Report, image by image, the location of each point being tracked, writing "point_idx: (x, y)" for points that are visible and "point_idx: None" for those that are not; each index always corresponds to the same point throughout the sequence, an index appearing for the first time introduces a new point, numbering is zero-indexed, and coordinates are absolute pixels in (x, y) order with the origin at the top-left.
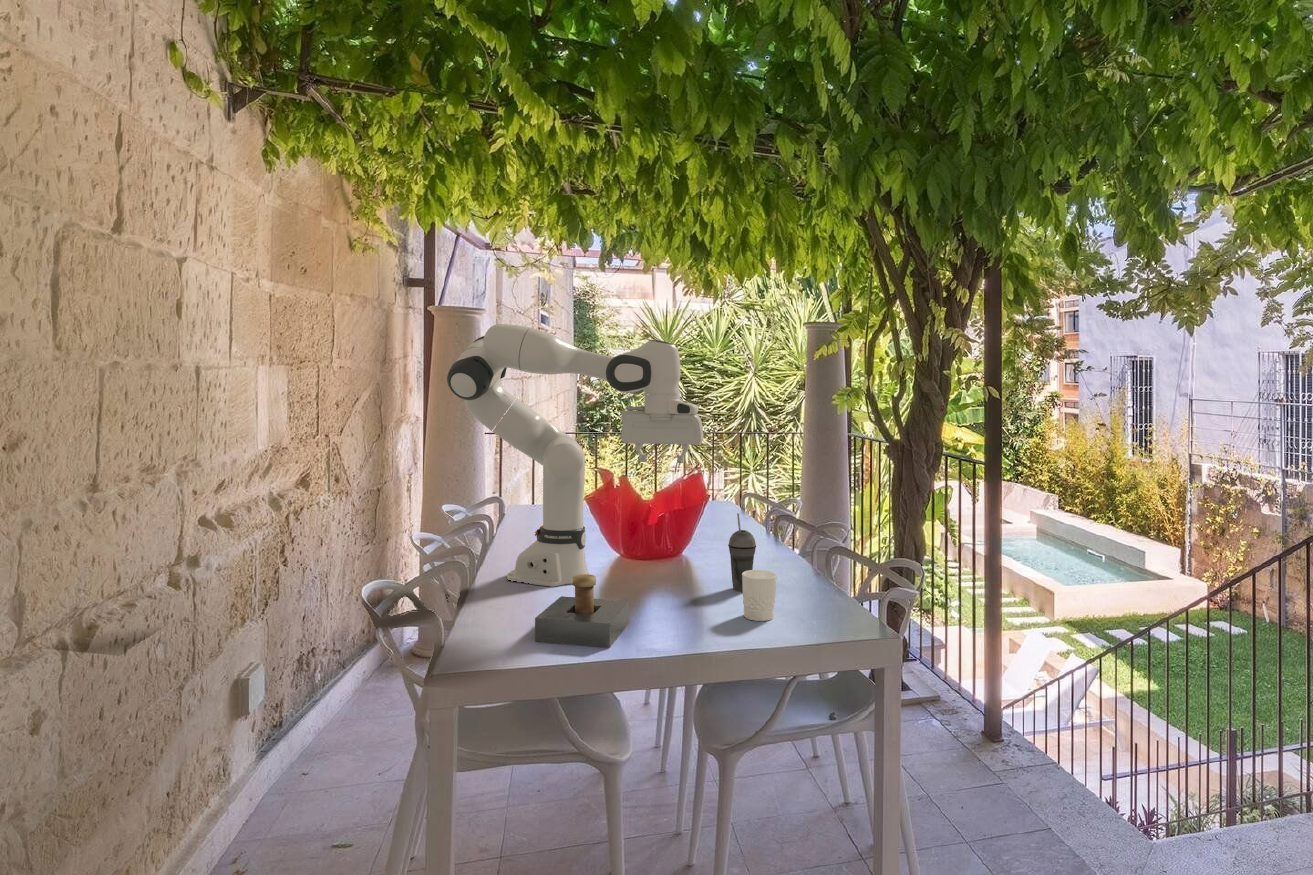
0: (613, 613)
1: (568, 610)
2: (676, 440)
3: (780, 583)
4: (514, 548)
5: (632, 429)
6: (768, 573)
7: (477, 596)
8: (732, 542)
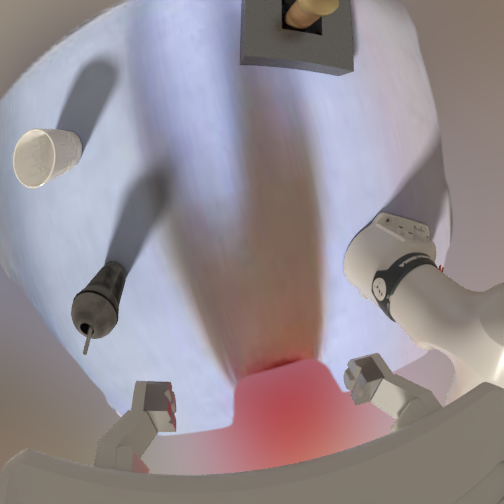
0: (253, 2)
1: None
2: (161, 498)
3: None
4: None
5: (500, 449)
6: (27, 183)
7: (440, 159)
8: (102, 302)
